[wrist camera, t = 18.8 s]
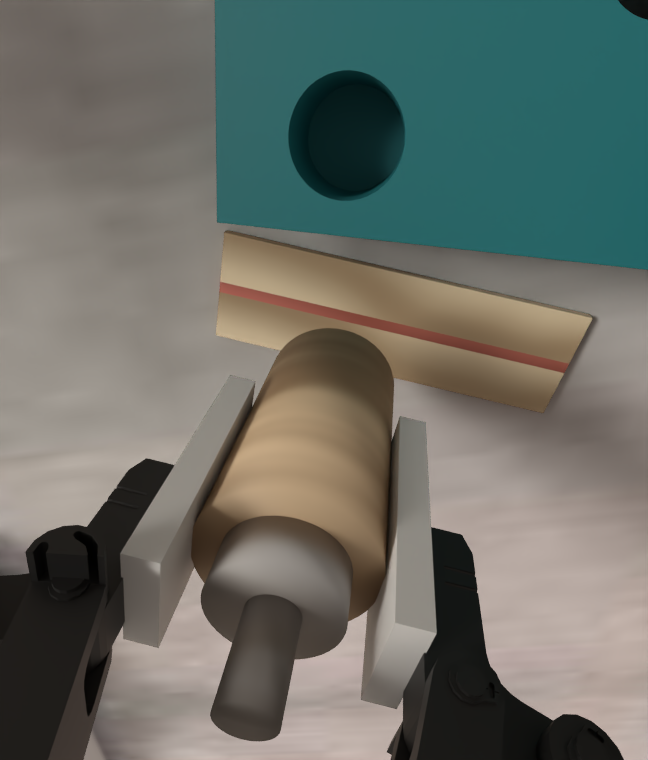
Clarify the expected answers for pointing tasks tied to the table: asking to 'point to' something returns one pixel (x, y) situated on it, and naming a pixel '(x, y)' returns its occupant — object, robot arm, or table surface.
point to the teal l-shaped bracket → (438, 123)
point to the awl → (297, 521)
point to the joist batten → (399, 320)
